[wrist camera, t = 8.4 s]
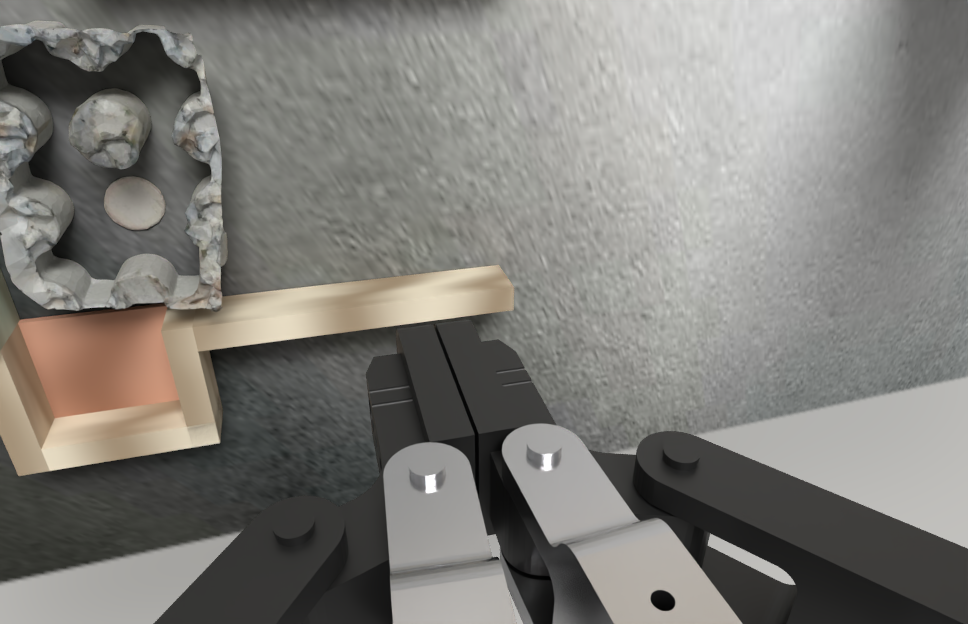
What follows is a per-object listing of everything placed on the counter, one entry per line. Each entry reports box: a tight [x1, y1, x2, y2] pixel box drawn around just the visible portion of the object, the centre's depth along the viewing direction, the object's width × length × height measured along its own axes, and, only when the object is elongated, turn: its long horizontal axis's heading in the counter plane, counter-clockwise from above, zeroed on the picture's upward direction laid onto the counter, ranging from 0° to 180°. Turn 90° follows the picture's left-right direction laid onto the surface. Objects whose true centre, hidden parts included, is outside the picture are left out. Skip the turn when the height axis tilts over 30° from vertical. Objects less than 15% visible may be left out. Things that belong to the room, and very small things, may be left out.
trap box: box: [0, 265, 514, 476], centre depth 26 cm, size 22×26×3 cm
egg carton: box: [0, 20, 228, 312], centre depth 25 cm, size 11×8×4 cm
